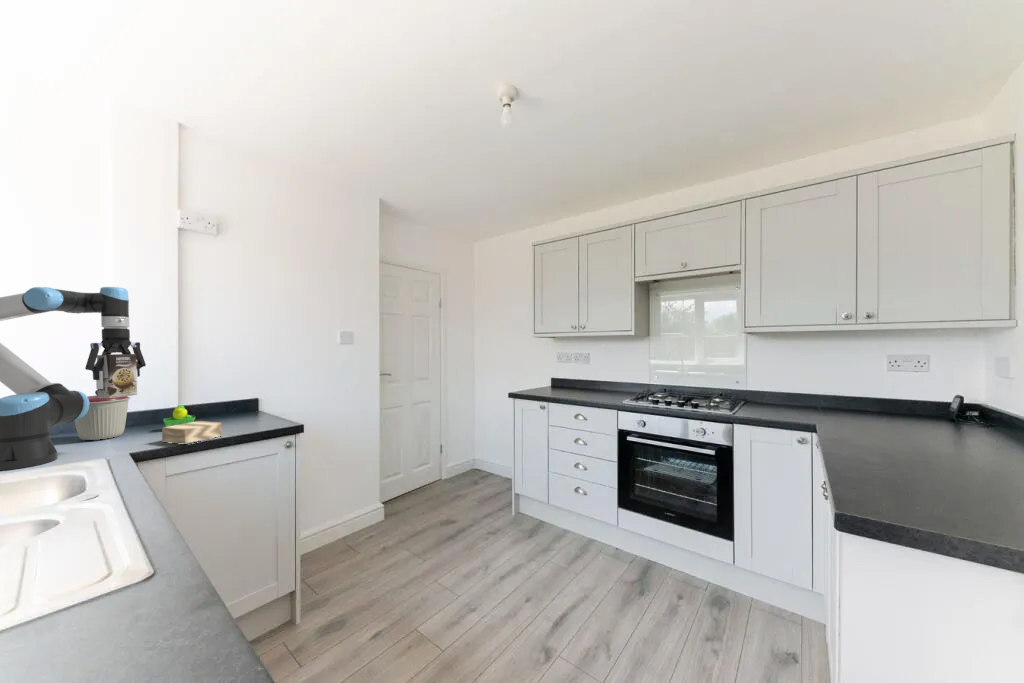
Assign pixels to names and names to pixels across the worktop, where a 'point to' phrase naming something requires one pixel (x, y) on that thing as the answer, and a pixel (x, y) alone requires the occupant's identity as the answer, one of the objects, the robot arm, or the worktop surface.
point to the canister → (103, 418)
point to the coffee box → (118, 376)
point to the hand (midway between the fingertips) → (117, 387)
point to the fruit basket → (179, 417)
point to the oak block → (191, 432)
